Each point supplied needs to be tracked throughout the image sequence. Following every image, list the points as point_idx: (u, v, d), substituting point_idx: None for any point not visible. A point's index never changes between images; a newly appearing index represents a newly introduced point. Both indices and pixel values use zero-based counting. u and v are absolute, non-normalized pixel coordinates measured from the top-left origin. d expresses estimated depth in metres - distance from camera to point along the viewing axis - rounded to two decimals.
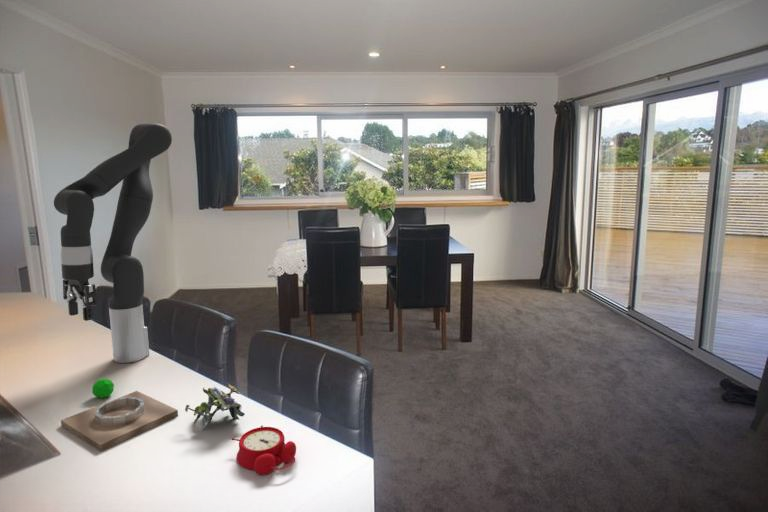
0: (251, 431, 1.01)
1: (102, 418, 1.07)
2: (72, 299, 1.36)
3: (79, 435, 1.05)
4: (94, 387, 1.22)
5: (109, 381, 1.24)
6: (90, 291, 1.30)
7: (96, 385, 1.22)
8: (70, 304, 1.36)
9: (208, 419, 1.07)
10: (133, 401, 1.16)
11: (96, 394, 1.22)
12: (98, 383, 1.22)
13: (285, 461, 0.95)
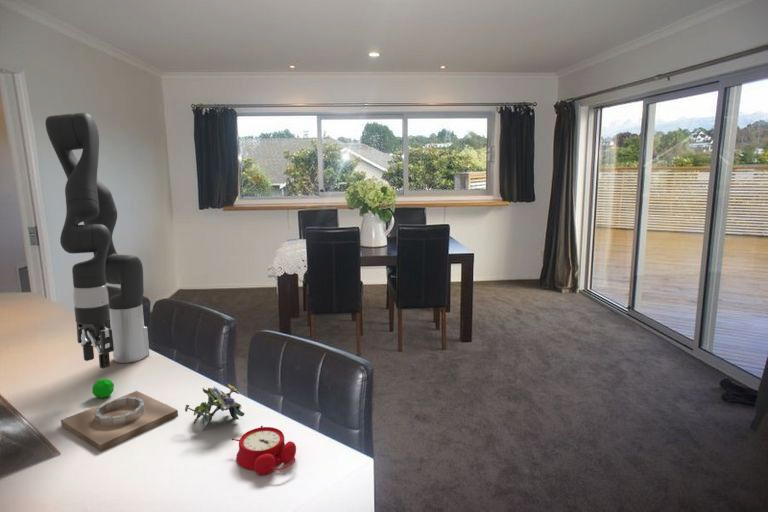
0: (251, 431, 1.01)
1: (102, 418, 1.07)
2: (87, 343, 1.23)
3: (79, 435, 1.05)
4: (94, 387, 1.22)
5: (109, 381, 1.24)
6: (106, 336, 1.17)
7: (96, 385, 1.22)
8: (85, 349, 1.23)
9: (208, 419, 1.07)
10: (133, 401, 1.16)
11: (96, 394, 1.22)
12: (98, 383, 1.22)
13: (285, 461, 0.95)
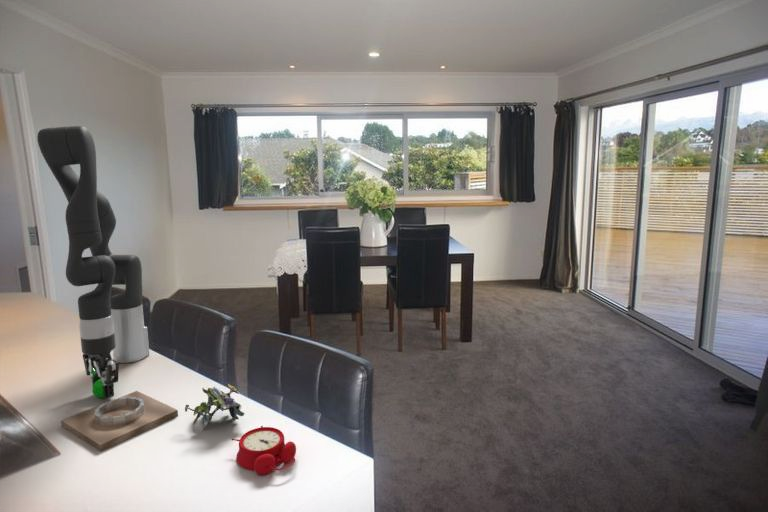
0: (251, 431, 1.01)
1: (102, 418, 1.07)
2: (96, 375, 1.24)
3: (79, 435, 1.05)
4: (94, 387, 1.21)
5: None
6: (113, 370, 1.19)
7: (96, 385, 1.22)
8: (94, 381, 1.24)
9: (208, 419, 1.07)
10: (133, 401, 1.16)
11: (96, 394, 1.21)
12: (98, 383, 1.22)
13: (285, 461, 0.95)
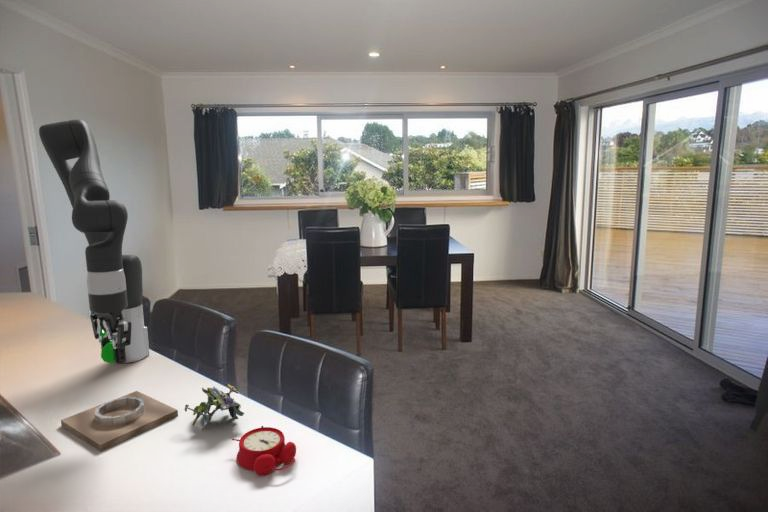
0: (251, 431, 1.01)
1: (102, 418, 1.07)
2: (105, 338, 1.10)
3: (79, 435, 1.05)
4: (103, 351, 1.07)
5: None
6: (125, 330, 1.04)
7: (105, 348, 1.07)
8: (103, 345, 1.09)
9: (207, 419, 1.08)
10: (133, 401, 1.16)
11: (105, 359, 1.07)
12: (107, 346, 1.07)
13: (285, 462, 0.95)
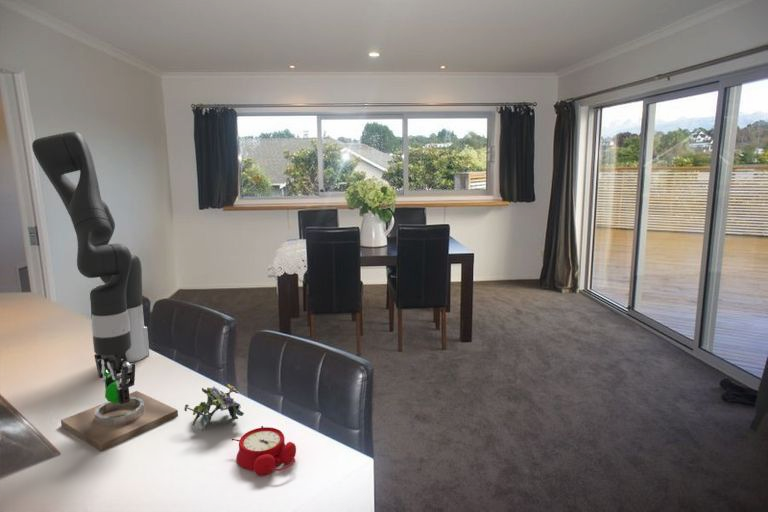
0: (251, 431, 1.01)
1: (102, 418, 1.07)
2: (109, 378, 1.12)
3: (79, 435, 1.05)
4: (107, 391, 1.09)
5: None
6: (129, 372, 1.06)
7: (109, 389, 1.09)
8: (107, 384, 1.11)
9: (207, 419, 1.08)
10: (133, 401, 1.16)
11: (109, 399, 1.09)
12: (112, 387, 1.09)
13: (285, 462, 0.95)
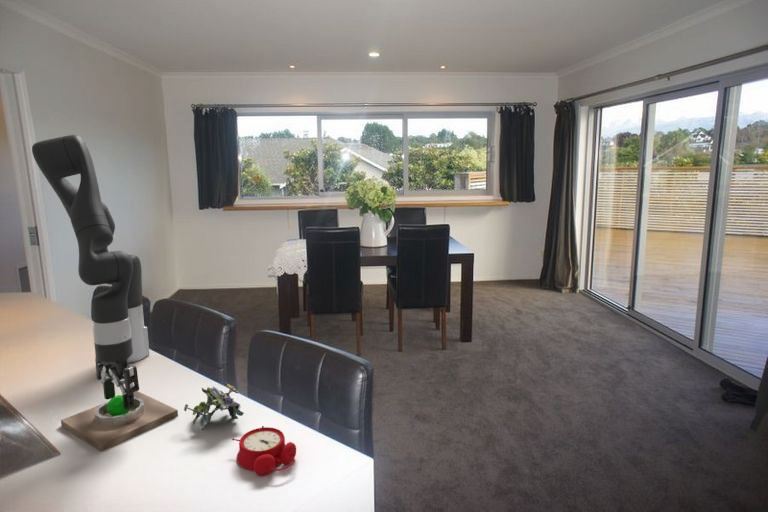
0: (252, 431, 1.01)
1: (102, 418, 1.07)
2: (107, 380, 1.13)
3: (79, 435, 1.05)
4: (110, 405, 1.09)
5: None
6: (131, 375, 1.06)
7: (112, 403, 1.09)
8: (105, 386, 1.12)
9: (207, 419, 1.08)
10: None
11: (112, 413, 1.09)
12: (114, 401, 1.09)
13: (285, 462, 0.95)
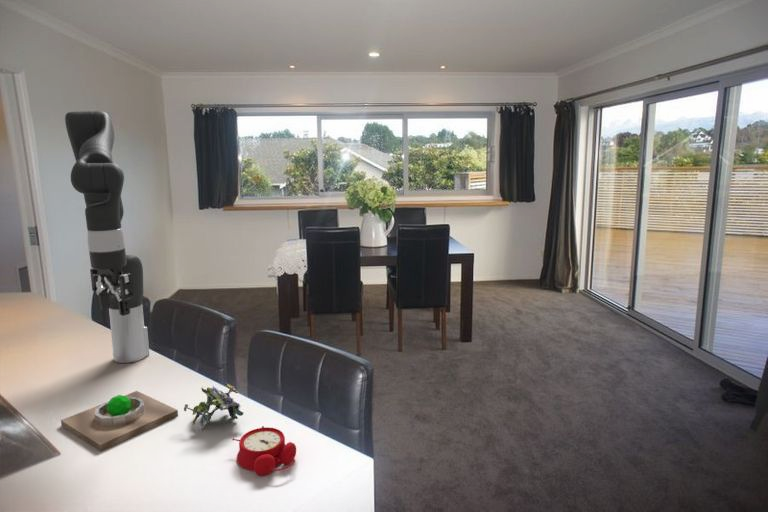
0: (252, 431, 1.01)
1: (102, 418, 1.07)
2: (103, 291, 1.18)
3: (79, 435, 1.05)
4: (110, 405, 1.09)
5: (126, 398, 1.11)
6: (126, 282, 1.11)
7: (112, 403, 1.09)
8: (101, 297, 1.17)
9: (207, 418, 1.08)
10: (133, 401, 1.16)
11: (112, 413, 1.09)
12: (114, 401, 1.09)
13: (285, 462, 0.95)
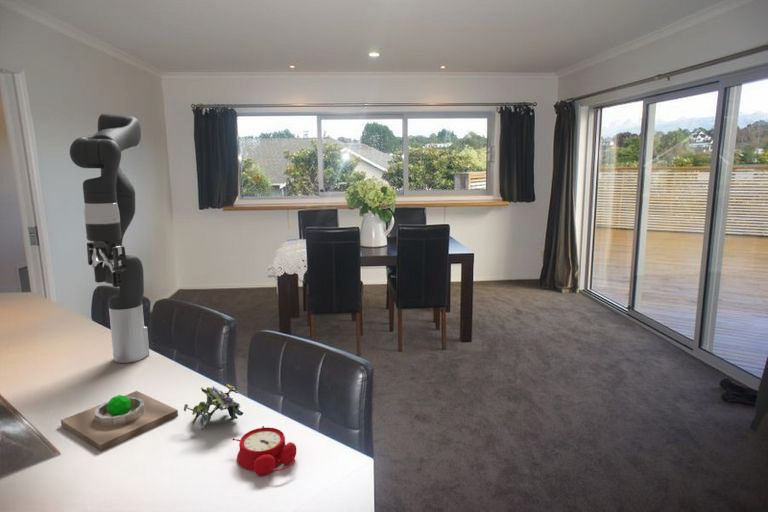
0: (252, 431, 1.01)
1: (102, 418, 1.07)
2: (98, 264, 1.21)
3: (79, 435, 1.05)
4: (110, 405, 1.09)
5: (126, 398, 1.11)
6: (119, 253, 1.15)
7: (112, 403, 1.09)
8: (96, 270, 1.21)
9: (207, 418, 1.08)
10: (133, 401, 1.16)
11: (112, 413, 1.09)
12: (114, 401, 1.09)
13: (285, 462, 0.95)
